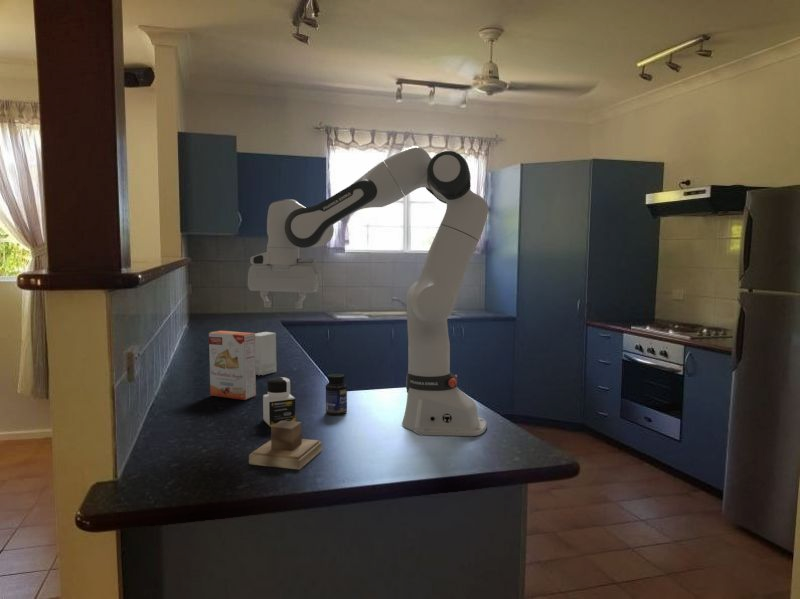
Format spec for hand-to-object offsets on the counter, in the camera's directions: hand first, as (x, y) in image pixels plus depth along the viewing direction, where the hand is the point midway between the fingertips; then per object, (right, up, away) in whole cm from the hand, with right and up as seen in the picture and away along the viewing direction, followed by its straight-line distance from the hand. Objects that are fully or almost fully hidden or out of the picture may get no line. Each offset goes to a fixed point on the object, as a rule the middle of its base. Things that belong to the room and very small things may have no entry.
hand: (283, 307), depth 154 cm
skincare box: (-20, -26, +59) cm, 68 cm away
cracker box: (-21, -29, +23) cm, 43 cm away
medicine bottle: (0, -31, -4) cm, 31 cm away
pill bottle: (+14, -31, +5) cm, 34 cm away
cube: (+7, -31, -30) cm, 44 cm away
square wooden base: (+7, -33, -30) cm, 46 cm away
